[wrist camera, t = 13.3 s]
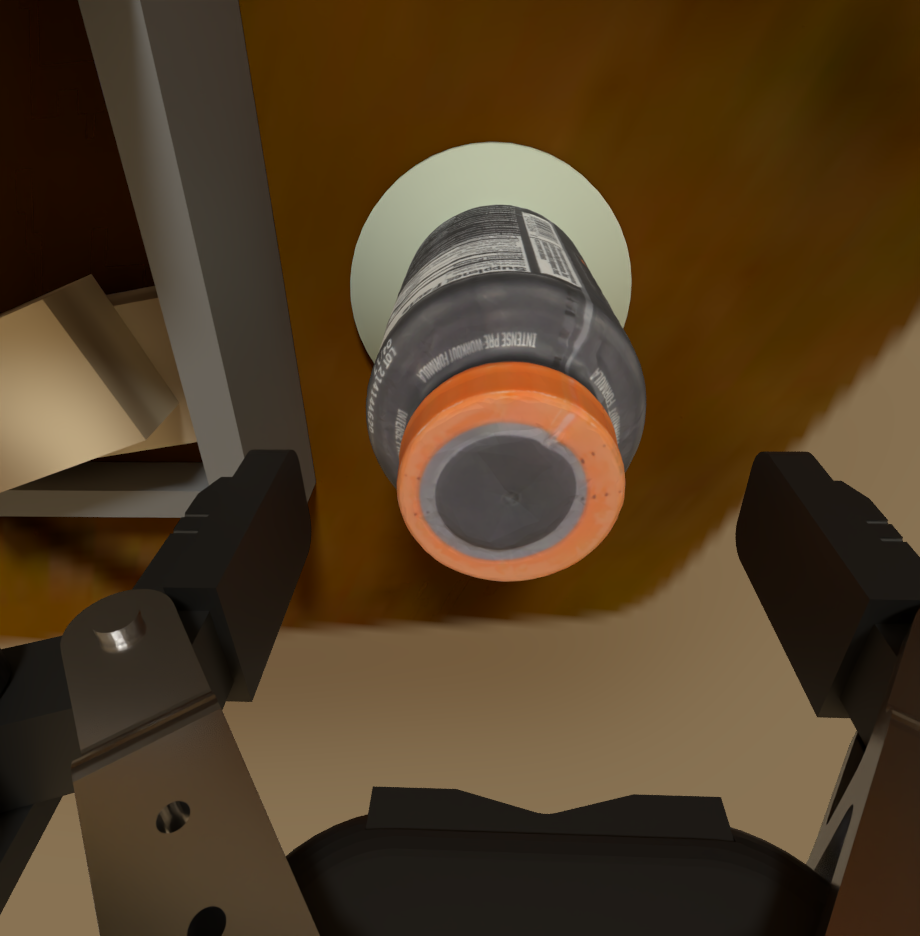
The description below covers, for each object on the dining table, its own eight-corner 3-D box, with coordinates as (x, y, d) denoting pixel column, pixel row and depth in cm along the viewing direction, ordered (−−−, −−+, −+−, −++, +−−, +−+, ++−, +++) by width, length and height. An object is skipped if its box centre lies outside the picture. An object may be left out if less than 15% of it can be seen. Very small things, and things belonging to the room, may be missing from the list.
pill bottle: (570, 391, 22) (638, 640, 12) (400, 376, 22) (338, 614, 12) (606, 210, 19) (735, 357, 9) (407, 190, 19) (331, 319, 9)
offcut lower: (202, 273, 21) (171, 295, 19) (254, 404, 24) (232, 436, 22) (-132, 337, 23) (-194, 364, 21) (-50, 454, 26) (-97, 488, 23)
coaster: (646, 139, 18) (651, 142, 18) (611, 415, 23) (613, 423, 23) (338, 143, 19) (334, 145, 18) (366, 415, 23) (364, 423, 23)
